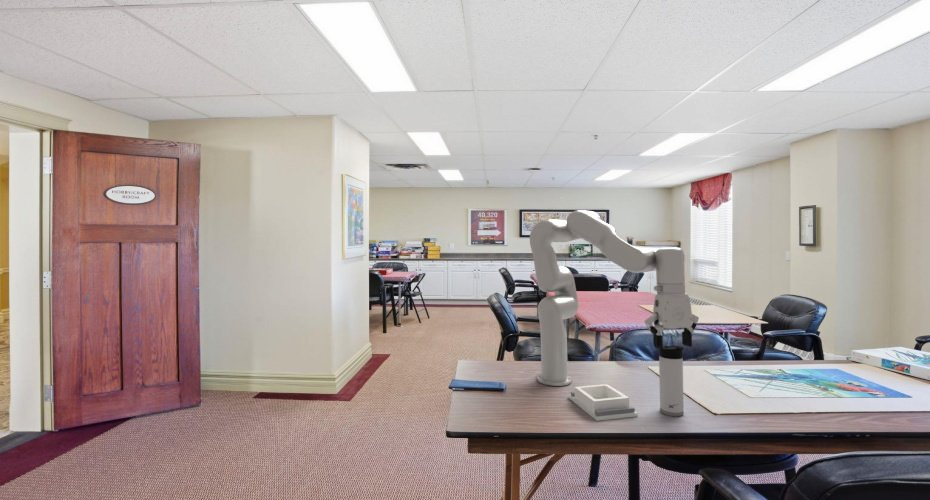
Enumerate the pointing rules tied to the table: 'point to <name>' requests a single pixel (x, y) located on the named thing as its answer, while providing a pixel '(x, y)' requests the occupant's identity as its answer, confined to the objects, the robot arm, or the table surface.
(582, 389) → the white rectangular tray
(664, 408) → the travel mug
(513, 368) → the table surface
